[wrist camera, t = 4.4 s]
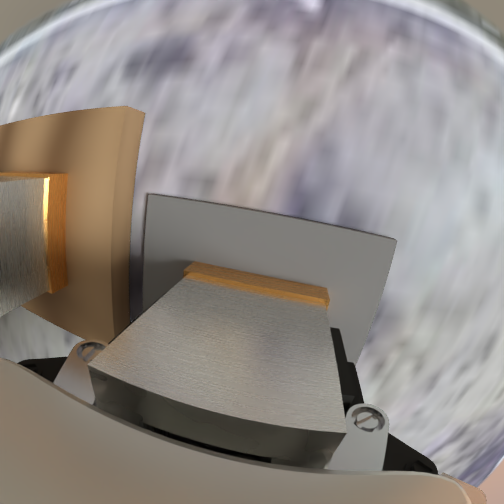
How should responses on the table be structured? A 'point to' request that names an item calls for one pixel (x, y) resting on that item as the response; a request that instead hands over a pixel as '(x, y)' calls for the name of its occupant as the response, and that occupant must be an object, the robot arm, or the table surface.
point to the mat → (269, 256)
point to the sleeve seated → (31, 236)
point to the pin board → (85, 209)
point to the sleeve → (230, 368)
